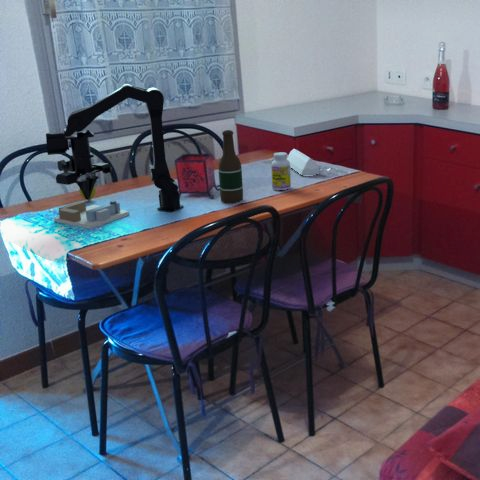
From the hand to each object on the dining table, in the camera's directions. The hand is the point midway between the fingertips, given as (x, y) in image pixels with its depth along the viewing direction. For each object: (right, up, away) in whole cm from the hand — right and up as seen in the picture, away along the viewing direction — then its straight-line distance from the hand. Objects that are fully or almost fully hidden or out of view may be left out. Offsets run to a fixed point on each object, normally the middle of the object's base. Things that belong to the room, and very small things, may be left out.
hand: (87, 199), depth 224 cm
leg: (+6, -6, -2) cm, 8 cm away
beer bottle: (+47, 0, +12) cm, 48 cm away
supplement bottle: (+64, +5, +23) cm, 68 cm away
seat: (+1, -6, +2) cm, 6 cm away
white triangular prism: (+74, +14, +48) cm, 89 cm away
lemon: (-4, 0, +22) cm, 23 cm away
